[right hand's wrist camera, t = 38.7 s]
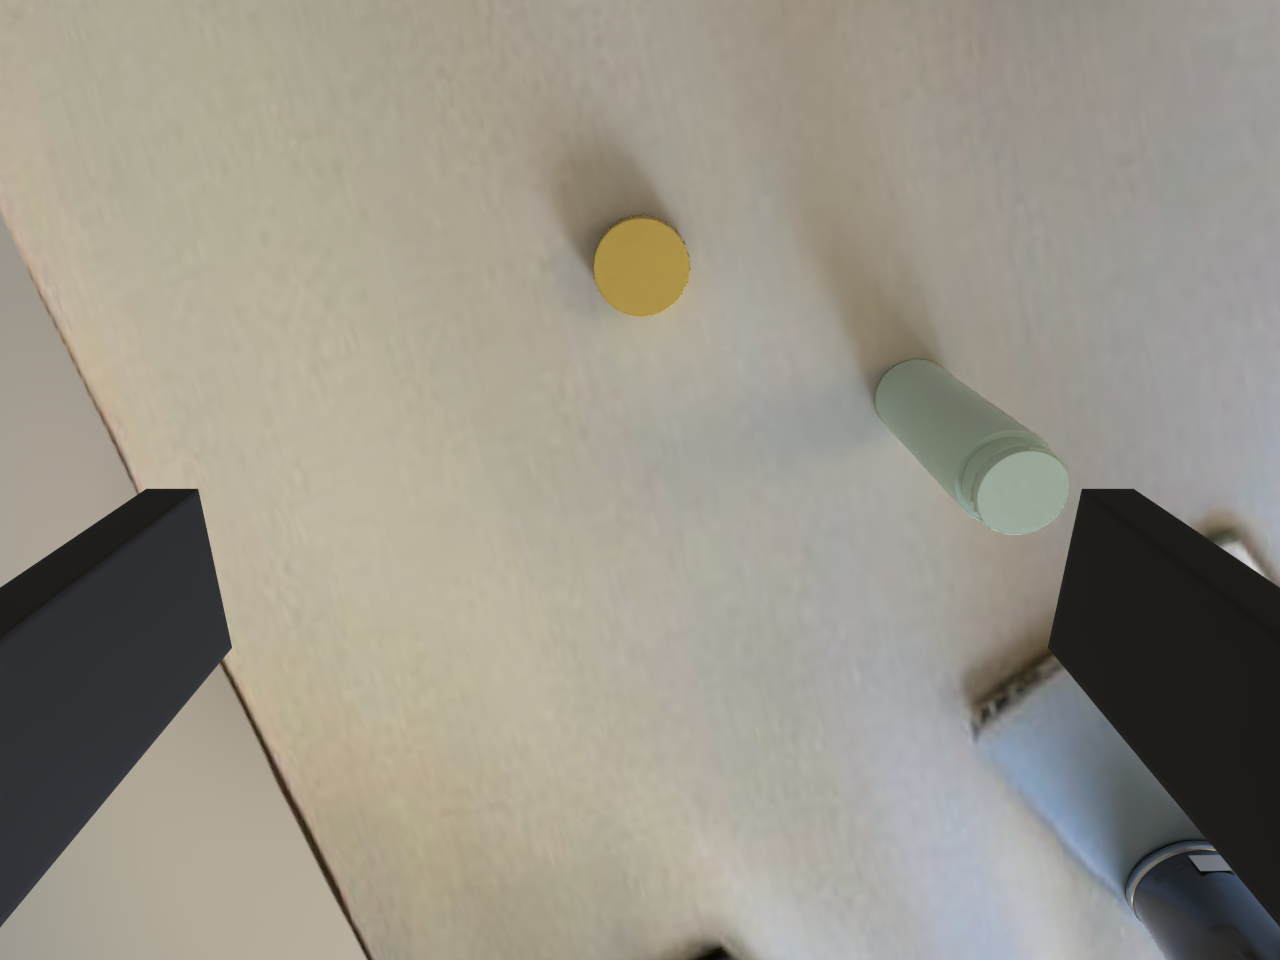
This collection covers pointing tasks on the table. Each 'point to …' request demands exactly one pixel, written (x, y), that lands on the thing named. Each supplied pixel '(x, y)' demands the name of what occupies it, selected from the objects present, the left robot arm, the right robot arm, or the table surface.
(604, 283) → the lid
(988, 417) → the jar
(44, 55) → the table surface
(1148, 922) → the left robot arm
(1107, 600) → the right robot arm
